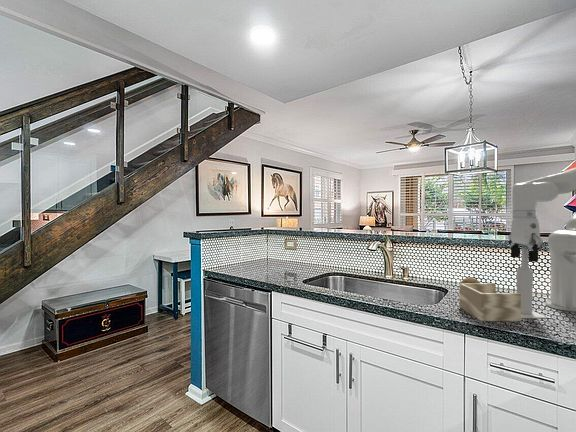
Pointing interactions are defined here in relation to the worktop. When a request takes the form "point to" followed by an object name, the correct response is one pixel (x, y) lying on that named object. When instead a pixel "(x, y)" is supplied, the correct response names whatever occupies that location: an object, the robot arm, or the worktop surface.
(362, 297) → the worktop surface
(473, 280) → the natural sponge
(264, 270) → the worktop surface
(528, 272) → the bottle
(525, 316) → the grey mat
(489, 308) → the open side box
